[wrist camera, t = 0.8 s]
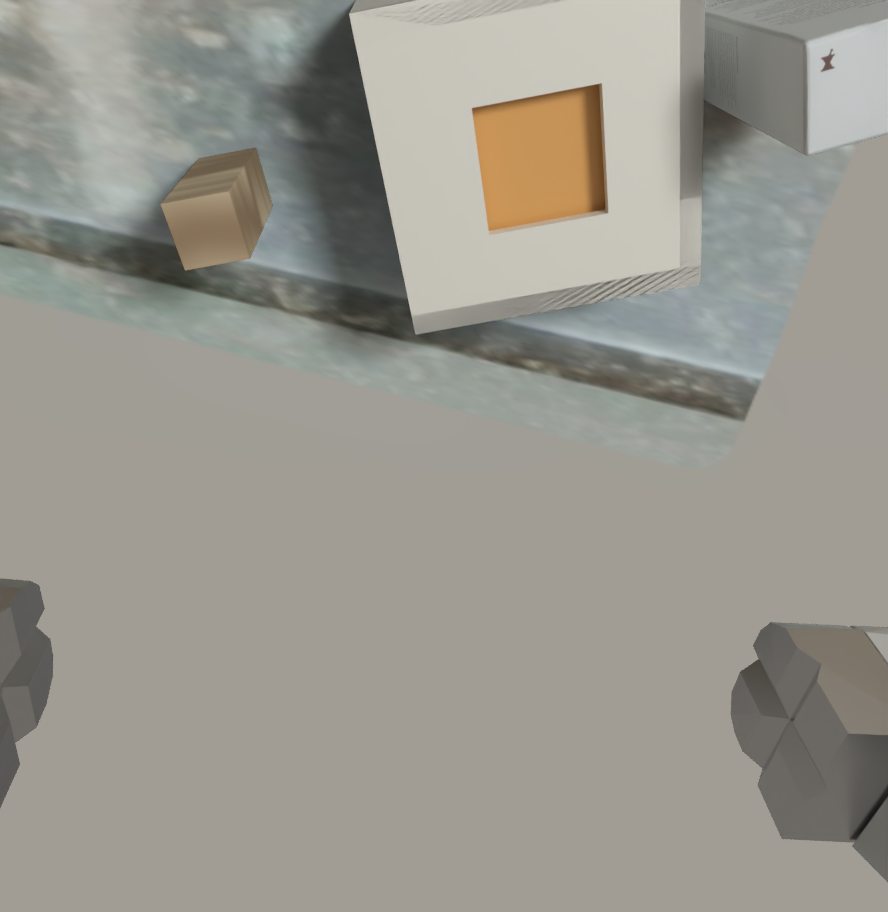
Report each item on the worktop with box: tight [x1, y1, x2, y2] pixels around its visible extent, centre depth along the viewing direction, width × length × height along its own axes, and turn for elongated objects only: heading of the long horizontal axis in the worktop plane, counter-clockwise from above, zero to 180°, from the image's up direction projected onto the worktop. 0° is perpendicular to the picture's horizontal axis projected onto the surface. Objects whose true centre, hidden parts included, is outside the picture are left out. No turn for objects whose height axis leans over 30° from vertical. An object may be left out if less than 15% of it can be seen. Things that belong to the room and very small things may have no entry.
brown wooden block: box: [161, 148, 273, 270], centre depth 38 cm, size 3×3×8 cm
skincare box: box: [704, 0, 888, 156], centre depth 34 cm, size 6×4×12 cm
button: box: [472, 84, 606, 231], centre depth 36 cm, size 8×8×3 cm
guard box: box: [349, 0, 705, 335], centre depth 37 cm, size 14×14×7 cm
